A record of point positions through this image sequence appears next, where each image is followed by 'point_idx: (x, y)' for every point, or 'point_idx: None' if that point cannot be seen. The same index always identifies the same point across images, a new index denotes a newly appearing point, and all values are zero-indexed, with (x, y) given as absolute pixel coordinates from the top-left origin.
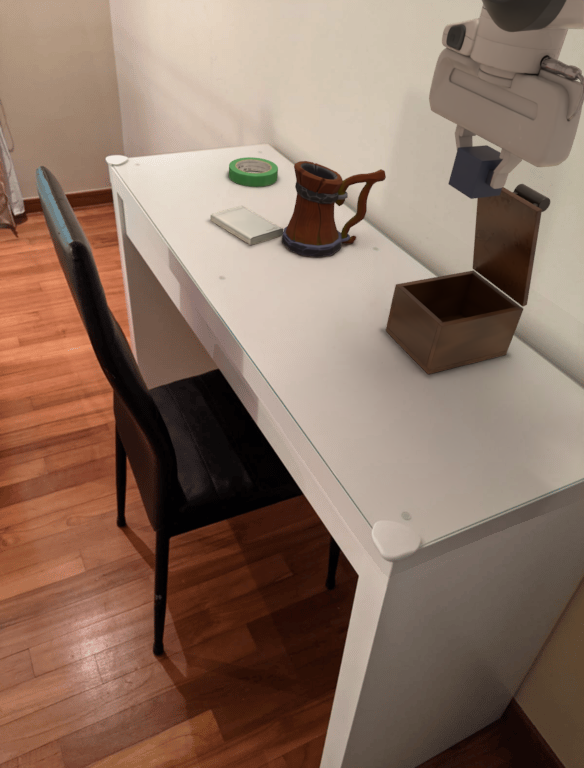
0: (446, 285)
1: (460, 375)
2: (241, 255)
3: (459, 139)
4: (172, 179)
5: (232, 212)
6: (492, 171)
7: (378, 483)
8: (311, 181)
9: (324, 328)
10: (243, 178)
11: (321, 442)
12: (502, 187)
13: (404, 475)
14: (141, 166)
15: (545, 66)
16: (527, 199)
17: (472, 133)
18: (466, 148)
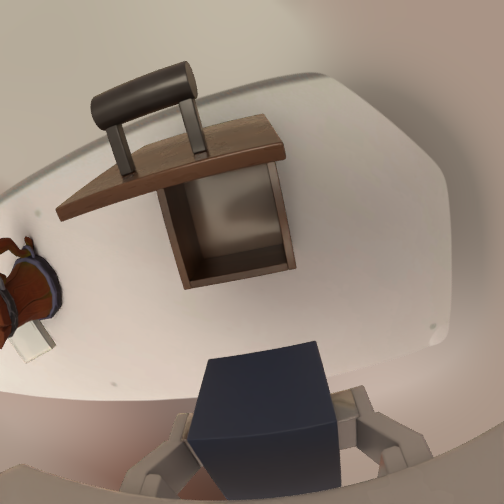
0: (171, 199)
1: (297, 208)
2: (73, 357)
3: (178, 492)
4: None
5: (17, 346)
6: (352, 446)
7: (404, 337)
8: (5, 338)
9: (194, 327)
10: None
11: (355, 366)
12: (361, 385)
13: (405, 317)
14: None
15: None
16: (152, 112)
17: (168, 492)
18: (234, 491)
